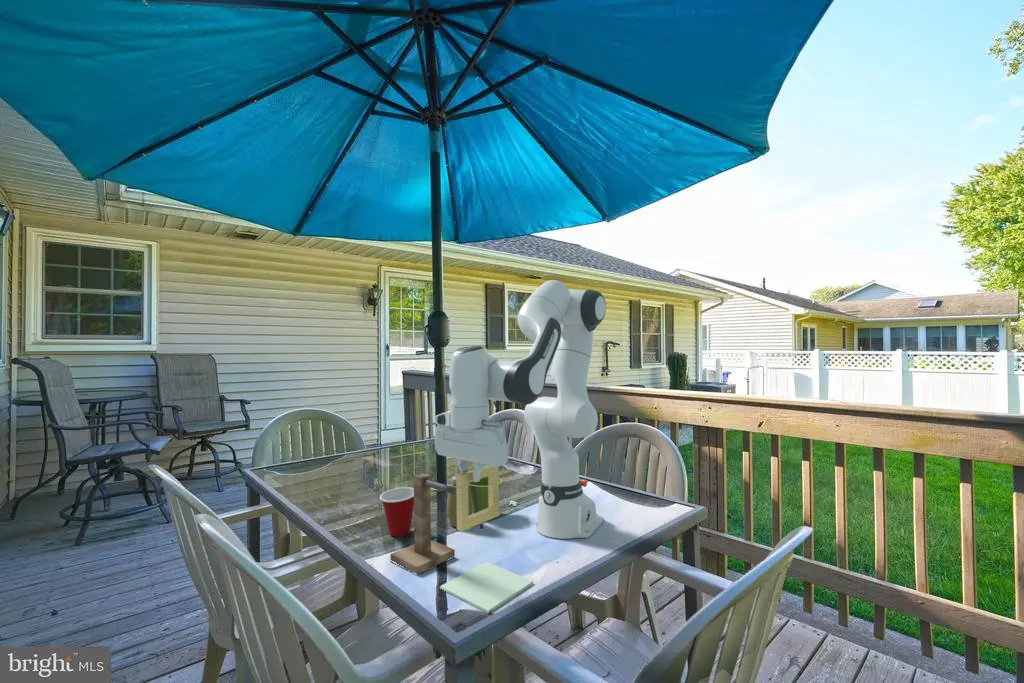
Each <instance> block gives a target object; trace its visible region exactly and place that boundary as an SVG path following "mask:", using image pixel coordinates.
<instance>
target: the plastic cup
mask: <svg viewBox="0 0 1024 683" xmlns="http://www.w3.org/2000/svg"><path fill="white" fill-rule="evenodd" d="M379 500H380V501H381V502H382V506H383V508H384V514H385V519H386V524H387V527H388V533H389V535H390V536H391V535H392V536H391V537H393V536H401V537H404V536H403V535H405V536H407V535H409V534H410V531H411V526H412V518H413V515H414V487H410V486H409V487H408V486H407V487H406V486H405V487H396V488H392V489H388V490H386V491H384V492H382V493H381V494H380V495H379ZM406 534H407V535H406Z"/></svg>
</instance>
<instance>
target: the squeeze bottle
mask: <svg viewBox="0 0 1024 683" xmlns="http://www.w3.org/2000/svg"><path fill="white" fill-rule="evenodd" d="M460 473H461V471H460V469H459V467H458V465H457V466H456V469H455V475H454V476H452V477H451V483H450V484H449V486H452V487H455V488H456V474H460ZM446 502H447V504H446V516H447V519H448V522H449V524H450V526H451V527H452V528H453V527H454V528H457V495H454V494H451V493H447V501H446ZM472 514H473V510H472V501H471V492H470V485H469V484H468V516H469V515H472Z"/></svg>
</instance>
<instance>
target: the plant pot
mask: <svg viewBox="0 0 1024 683" xmlns="http://www.w3.org/2000/svg"><path fill="white" fill-rule="evenodd" d="M502 483H503V479H502V478H500V477H499V491H500V489H501V484H502ZM468 484H469V485H470V492H471V501H472V510H473V512H472V514H474V513H477V512H479V511H482V510H484V509H487V508H489V503H488V477H485V478H482V479H480V481H479V482H469V483H468Z"/></svg>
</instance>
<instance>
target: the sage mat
mask: <svg viewBox="0 0 1024 683" xmlns="http://www.w3.org/2000/svg"><path fill="white" fill-rule="evenodd" d="M532 585H534V580H532V579H530V578H527V577H524V576H523V575H520V574H517V573H514V572H512V571H511V570H508V569H505V568H502V567H500V566H498V565H496V564H493V563H491V562H488V561H485V562H483V563H480V565H477V566H476V567H473V568H472V569H470V570H468V571H466V572H465V573H463V574H460V575H459V576H456V577H455V578H453V579H451V580H449V581H448V582H445V583H444V584H442V585H440V586H439V589H440V590H441V589H442V590H441V591H443V590H444V591H443V592H445V591H446V592H445V593H447V592H448V593H447V594H449V593H450V594H449V595H451V594H452V595H451V596H453V595H454V596H453V597H455V596H456V597H455V598H457V597H458V598H457V599H459V598H460V599H459V600H461V599H462V600H464V601H466V602H467V603H466V602H465V603H466V604H468V603H470V604H471V605H470V604H469V605H470V606H472V605H473V606H472V607H475V608H476V609H478V610H480V611H482V612H484V613H486V614H490V613H491V612H493V611H495V610H496V609H498V608H499V607H500V606H502V605H504V604H505V603H506V602H508V601H510V600H511V599H513V598H514V597H515V596H517V595H519V594H521V593H522V592H523V591H525V590H526V589H527V588H529V587H530V586H532ZM524 589H525V590H524ZM521 591H522V592H521ZM518 593H519V594H518ZM462 600H461V601H462ZM464 601H463V602H464ZM492 610H493V611H492ZM490 611H491V612H490ZM489 612H490V613H489Z"/></svg>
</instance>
